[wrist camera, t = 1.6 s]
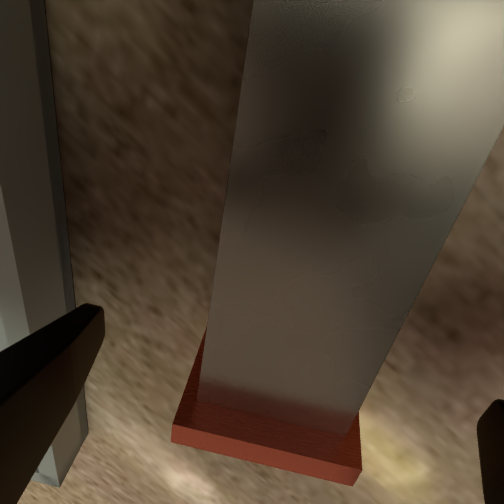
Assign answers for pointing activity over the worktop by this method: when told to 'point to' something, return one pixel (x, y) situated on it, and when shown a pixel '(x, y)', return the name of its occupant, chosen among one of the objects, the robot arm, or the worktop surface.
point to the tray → (33, 207)
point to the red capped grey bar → (336, 215)
